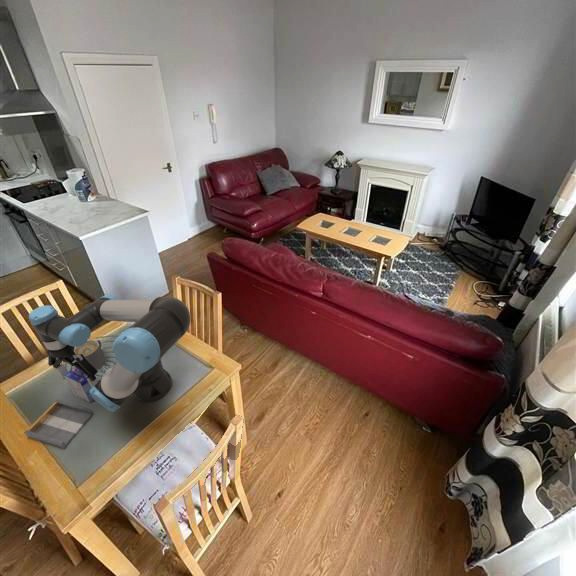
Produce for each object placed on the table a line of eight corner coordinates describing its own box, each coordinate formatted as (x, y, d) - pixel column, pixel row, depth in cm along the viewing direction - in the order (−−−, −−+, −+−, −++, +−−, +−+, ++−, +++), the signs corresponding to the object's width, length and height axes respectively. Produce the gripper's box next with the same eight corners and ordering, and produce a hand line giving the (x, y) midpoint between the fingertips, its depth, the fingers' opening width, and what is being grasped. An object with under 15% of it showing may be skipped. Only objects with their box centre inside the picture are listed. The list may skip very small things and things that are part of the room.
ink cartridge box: (102, 392, 127) (90, 369, 118) (91, 403, 123) (77, 380, 114) (85, 384, 130) (72, 361, 121) (73, 394, 126) (59, 371, 117)
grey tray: (94, 413, 119) (91, 409, 117) (64, 448, 108) (60, 444, 106) (60, 404, 122) (57, 399, 120) (27, 437, 111) (24, 432, 109)
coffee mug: (96, 373, 135) (88, 358, 129) (76, 369, 136) (67, 354, 130) (115, 351, 145) (108, 336, 140) (96, 348, 147) (89, 333, 141)
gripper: (96, 343, 110) (113, 380, 122) (40, 329, 114) (62, 366, 127) (80, 358, 104) (100, 396, 116) (21, 343, 108) (46, 381, 121)
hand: (80, 380), depth 121 cm, fingers open, 13 cm apart
